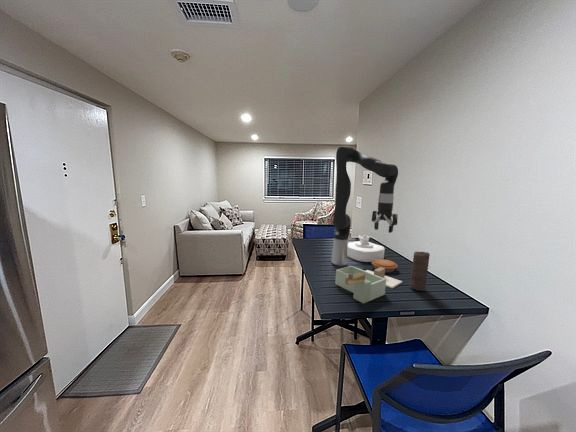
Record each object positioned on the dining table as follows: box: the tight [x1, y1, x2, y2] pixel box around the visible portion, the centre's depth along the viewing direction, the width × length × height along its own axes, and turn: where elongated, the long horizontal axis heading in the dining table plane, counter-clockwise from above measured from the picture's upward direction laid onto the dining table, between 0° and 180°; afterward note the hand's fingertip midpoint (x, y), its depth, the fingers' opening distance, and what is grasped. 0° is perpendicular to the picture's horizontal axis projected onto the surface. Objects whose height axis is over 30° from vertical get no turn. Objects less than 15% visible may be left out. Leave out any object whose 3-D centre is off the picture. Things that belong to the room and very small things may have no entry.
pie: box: [371, 259, 398, 273], centre depth 160 cm, size 16×16×5 cm
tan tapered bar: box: [345, 273, 365, 286], centre depth 115 cm, size 3×10×4 cm, turn 126°
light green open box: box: [334, 265, 387, 305], centre depth 129 cm, size 22×16×10 cm
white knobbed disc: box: [347, 234, 386, 263], centre depth 186 cm, size 25×25×16 cm
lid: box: [365, 267, 403, 289], centre depth 144 cm, size 22×11×6 cm, turn 42°
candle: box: [409, 251, 431, 291], centre depth 131 cm, size 8×7×20 cm
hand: (383, 231), depth 140 cm, fingers open, 8 cm apart
